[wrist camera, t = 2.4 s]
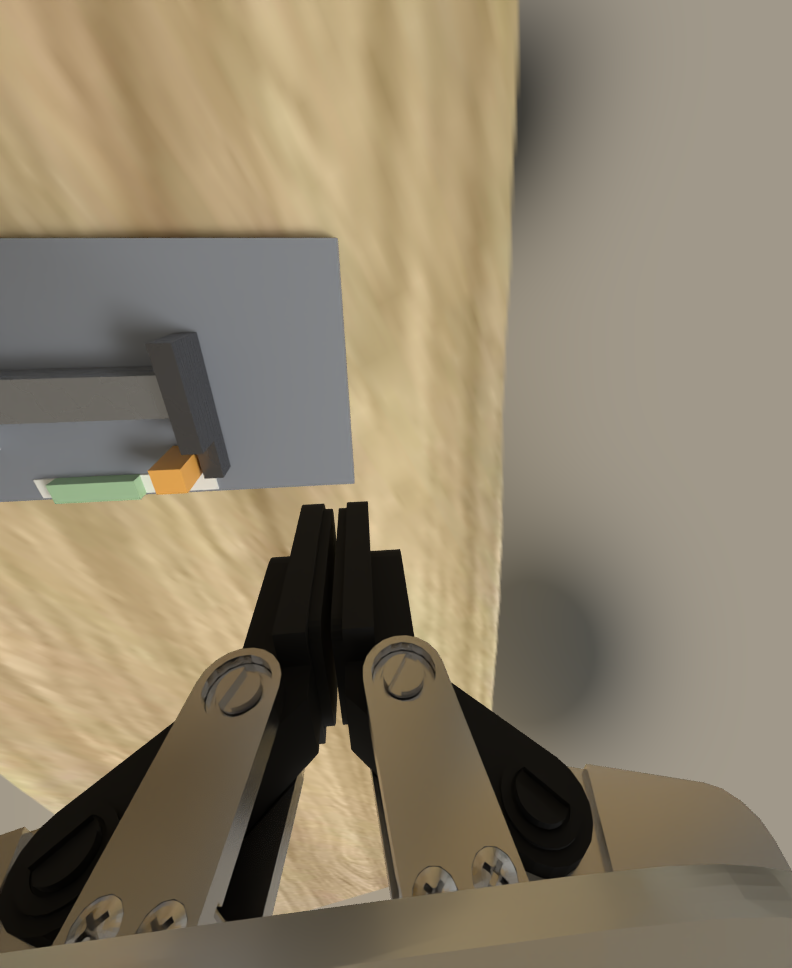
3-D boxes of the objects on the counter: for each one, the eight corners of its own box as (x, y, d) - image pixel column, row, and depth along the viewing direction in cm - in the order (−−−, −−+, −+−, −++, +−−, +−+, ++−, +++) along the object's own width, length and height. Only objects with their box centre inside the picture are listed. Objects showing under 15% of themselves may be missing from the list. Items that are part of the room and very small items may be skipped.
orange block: (172, 445, 25) (147, 470, 22) (201, 444, 25) (180, 469, 22) (180, 467, 25) (156, 494, 22) (207, 466, 26) (188, 493, 23)
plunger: (-98, 337, 20) (-177, 350, 17) (196, 332, 21) (170, 342, 18) (-10, 477, 25) (-61, 507, 22) (230, 466, 26) (214, 493, 23)
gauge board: (-162, 239, 19) (-331, 231, 14) (337, 239, 21) (333, 231, 16) (-3, 493, 26) (-79, 542, 22) (354, 475, 28) (354, 516, 24)
